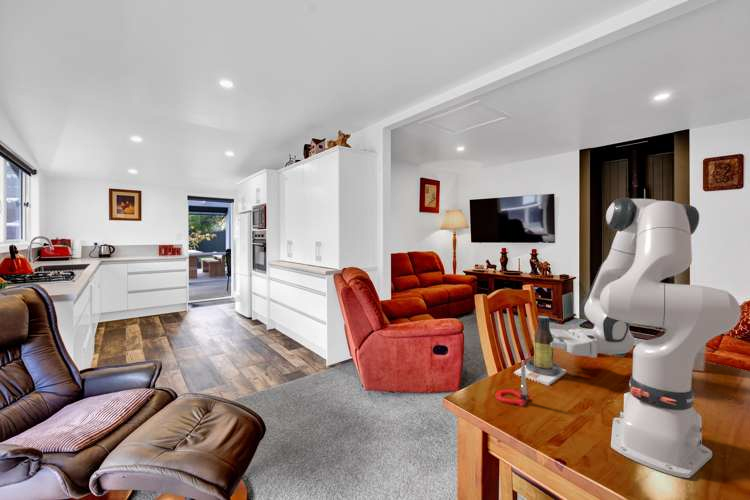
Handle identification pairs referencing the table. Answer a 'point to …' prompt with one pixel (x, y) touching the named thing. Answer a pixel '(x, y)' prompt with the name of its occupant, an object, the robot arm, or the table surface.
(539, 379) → the socket board
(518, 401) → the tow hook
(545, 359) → the sauce bottle
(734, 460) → the table surface
